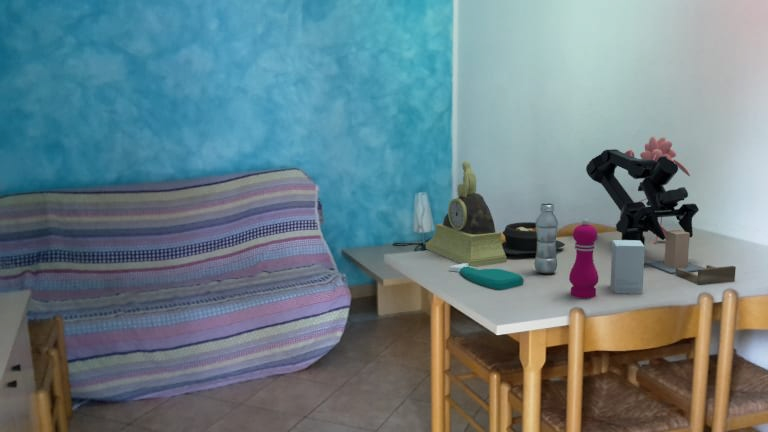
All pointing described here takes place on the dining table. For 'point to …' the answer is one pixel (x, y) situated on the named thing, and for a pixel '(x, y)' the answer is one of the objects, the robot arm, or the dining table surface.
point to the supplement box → (627, 266)
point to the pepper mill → (584, 262)
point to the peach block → (677, 248)
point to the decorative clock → (468, 228)
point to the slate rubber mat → (671, 270)
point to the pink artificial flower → (653, 153)
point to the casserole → (522, 239)
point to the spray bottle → (489, 276)
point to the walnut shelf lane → (709, 275)
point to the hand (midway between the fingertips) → (677, 237)
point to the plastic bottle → (546, 239)
